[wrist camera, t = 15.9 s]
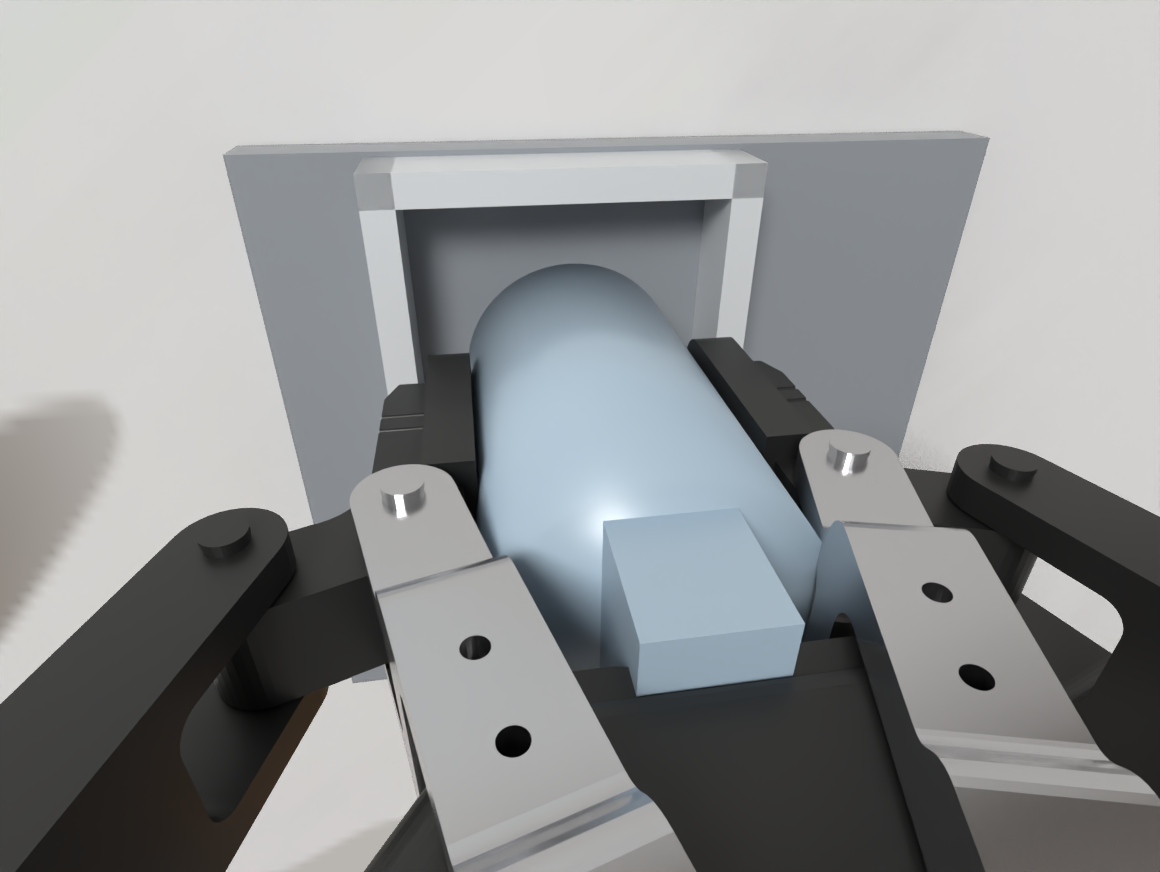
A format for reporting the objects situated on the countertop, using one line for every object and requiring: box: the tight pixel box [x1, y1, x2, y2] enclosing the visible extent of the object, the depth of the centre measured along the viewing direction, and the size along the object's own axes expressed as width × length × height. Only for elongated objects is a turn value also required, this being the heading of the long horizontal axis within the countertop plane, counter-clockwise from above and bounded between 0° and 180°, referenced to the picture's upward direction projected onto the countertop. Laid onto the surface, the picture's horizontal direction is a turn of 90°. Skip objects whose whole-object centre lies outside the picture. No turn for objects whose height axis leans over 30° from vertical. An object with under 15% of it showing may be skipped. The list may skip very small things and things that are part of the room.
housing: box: [223, 131, 990, 683], centre depth 17 cm, size 15×14×2 cm
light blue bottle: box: [469, 263, 822, 697], centre depth 10 cm, size 4×4×9 cm
